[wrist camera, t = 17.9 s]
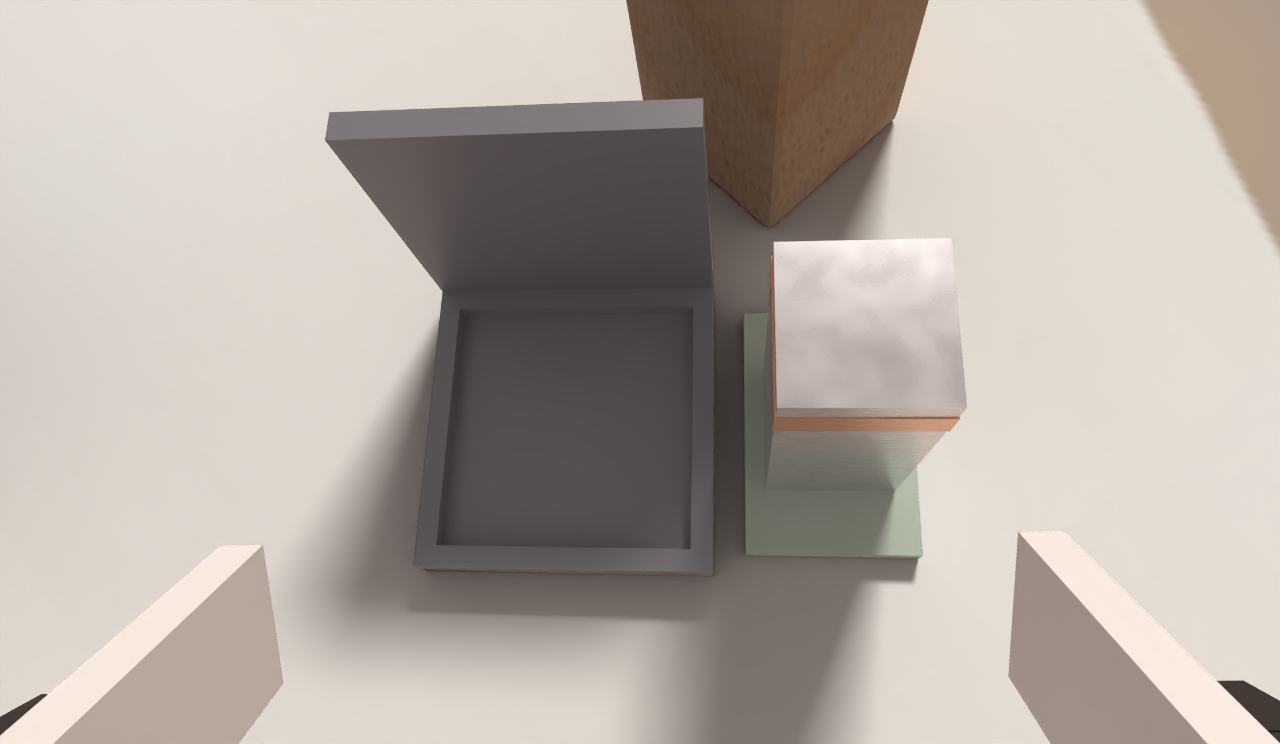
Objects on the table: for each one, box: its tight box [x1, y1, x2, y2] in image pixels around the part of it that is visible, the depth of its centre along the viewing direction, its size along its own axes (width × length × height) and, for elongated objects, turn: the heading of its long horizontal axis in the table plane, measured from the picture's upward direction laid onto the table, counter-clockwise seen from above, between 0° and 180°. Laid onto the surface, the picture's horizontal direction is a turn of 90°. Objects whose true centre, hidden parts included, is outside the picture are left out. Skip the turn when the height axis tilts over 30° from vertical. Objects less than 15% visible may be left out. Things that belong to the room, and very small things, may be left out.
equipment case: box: [325, 98, 715, 576], centre depth 38 cm, size 14×15×16 cm
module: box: [763, 238, 967, 491], centre depth 36 cm, size 6×6×14 cm
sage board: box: [744, 313, 923, 558], centre depth 44 cm, size 8×12×1 cm, turn 178°
